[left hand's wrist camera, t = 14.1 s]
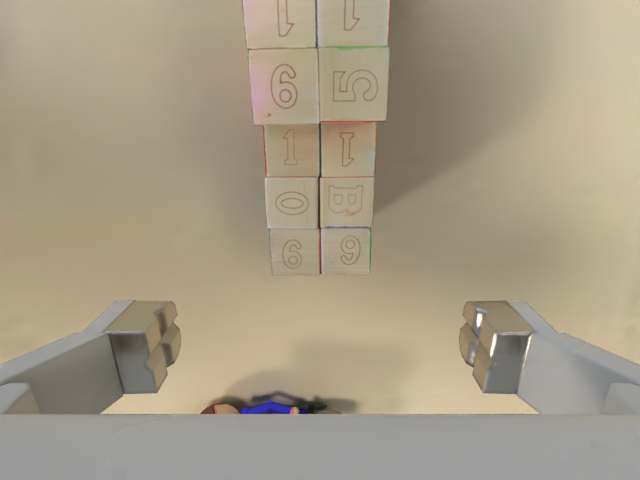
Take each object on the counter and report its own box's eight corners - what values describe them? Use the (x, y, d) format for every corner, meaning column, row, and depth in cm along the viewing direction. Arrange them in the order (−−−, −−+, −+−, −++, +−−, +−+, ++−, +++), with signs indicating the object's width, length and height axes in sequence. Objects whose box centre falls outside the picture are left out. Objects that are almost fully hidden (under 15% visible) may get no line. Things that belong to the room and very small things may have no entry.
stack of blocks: (355, 228, 31) (377, 302, 19) (282, 228, 31) (260, 302, 19) (367, -85, 23) (414, -273, 12) (270, -85, 23) (221, -273, 12)
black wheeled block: (341, 379, 38) (195, 386, 36) (356, 442, 31) (175, 455, 29) (337, 427, 40) (200, 436, 38) (351, 495, 33) (183, 510, 31)
